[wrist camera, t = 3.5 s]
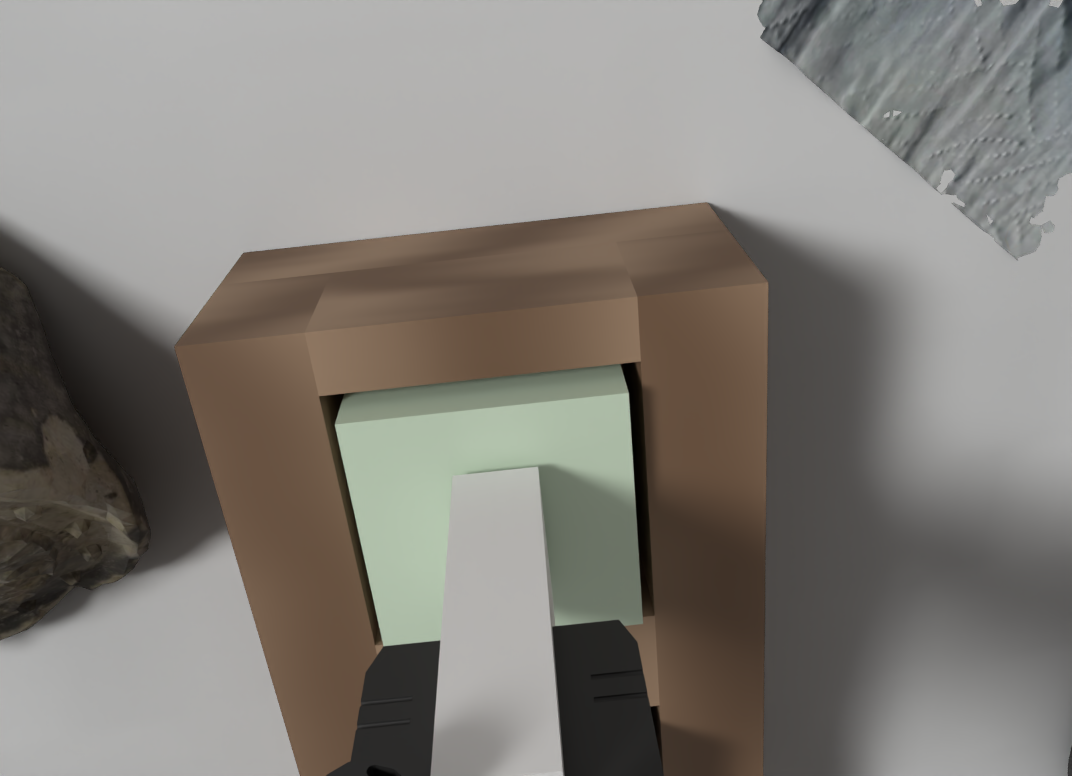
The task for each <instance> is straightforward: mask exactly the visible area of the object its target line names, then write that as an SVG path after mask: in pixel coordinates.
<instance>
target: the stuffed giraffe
mask: <svg viewBox="0 0 1072 776" xmlns="http://www.w3.org/2000/svg"><path fill="white" fill-rule="evenodd" d="M981 2H982V6H979V7H977V6H976V4H975V1H974V0H763V2H762V4H761V5H760V7H759V11H758V14H757V15H758V17H759V20H760V22H761V23H762V25H763V27H766V28H765V30H764V31H763V33H762V35H761V37H760V38H761V39H762V40H764V41H765V42H766V43H767V44H769V45H770V46H771V47H773V48H774V49H775V50H777V51H778V52H779V53H781V54H782V55H784V56H785V57H786V58H788V59H789V60H790V61H791V62H792V63H793V64H794V65H795V66H797V67H798V68H799V69H800V70H801V71H802V73H803V74H804V75H805V76H806V77H808V78H809V79H810V80H811V81H812V82H813V83H814V84H816V85H817V86H818V87H819V88H820V89H821V90H822V91H823V92H825V93H826V94H827V95H828V96H830V97H831V98H832V99H833V100H834V101H835V102H836V103H837V104H838V105H839V106H840V107H841V108H843V109H844V110H845V111H846V112H847V113H848V114H849V115H850V116H852V117H853V118H854V119H855V120H856V121H857V122H858V123H859V124H861V125H862V126H863V127H865V128H866V129H867V130H868V131H869V132H870V133H871V134H872V135H873V136H874V137H875V138H877V139H878V140H879V141H880V142H882V143H883V144H884V145H885V146H887V147H888V148H889V149H890V150H892V151H893V152H894V153H895V154H896V155H897V156H898V157H899V158H901V159H902V160H903V161H904V162H906V163H907V164H908V165H909V166H911V167H912V168H913V169H914V170H915V171H916V172H918V173H919V174H920V175H921V176H922V177H923V178H924V179H925V180H926V181H927V182H928V183H929V184H930V185H931V186H932V187H933V188H934V189H935V190H937V189H936V188H937V187H938V186H939V185H940V181H941V176H942V174H943V172H944V170H950V169H951V170H952V171H953V172H954V173H955V176H954V179H953V180H952V181H951V182H950V183H949V184H948V186H947V188H946V189H945V190H944V191H943V192H942V193H940V192H939V191H938V190H937V191H938V192H939V193H940V194H941V195H942V194H949V195H957V198H958V199H959V200H961V201H962V202H964V203H965V207H962V206H960V205H957V204H955V203H952V204H953V205H954V206H955V207H956V208H958V209H959V210H960V211H961V212H962V213H963V214H965V215H966V216H967V217H968V218H969V219H970V220H971V221H972V222H974V223H975V224H976V225H977V226H978V227H979V228H980V229H982V230H983V231H985V232H986V233H988V234H989V235H991V236H992V237H993V238H994V240H995V242H997V243H998V244H999V245H1000V246H1001V247H1003V248H1004V249H1005V250H1006V251H1007V252H1009V253H1010V254H1011V255H1012V256H1013V257H1015V259H1016V260H1017V261H1018V258H1019V257H1022V256H1024V255H1027V254H1030V253H1032V252H1034V251H1036V250H1037V248H1038V247H1039V245H1040V241H1041V237H1042V236H1041V226H1042V228H1043V230H1044V233H1048V232H1053V231H1054V226H1055V225H1053V224H1052V223H1051V221H1048V222H1047V223H1045V224H1043V225H1032V224H1030V222H1029V221H1030V218H1031V217H1032V218H1034V217H1035V216H1037V215H1038V214H1039V213H1040V212H1041V211H1043V207H1044V202H1045V198H1046V196H1054V195H1055V193H1056V192H1057V190H1058V187H1057V183H1058V180H1059V178H1061V177H1063V176H1064V175H1066V174H1068V173H1072V0H1063V2H1062V3H1061V5H1060V7H1059V8H1057V7H1053V6H1049V3H1050V0H1019V1H1018V2H1017V3H1016V4H1013V5H1006V6H1003V5H1002V3H1001V2H1000V1H999V0H981ZM893 110H895V111H901V112H902V113H900V114H898V115H897V116H894V117H893ZM889 111H890V116H889V117H887V118H883V116H884V114H885V113H887V112H889ZM860 122H861V123H860ZM986 214H987V215H988V216H989V217H990V218H991V219H992V220H993V222H992V223H991V224H989V222H988V218H987V215H986Z"/></svg>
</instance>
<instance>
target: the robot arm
mask: <svg viewBox="0 0 1072 776" xmlns="http://www.w3.org/2000/svg"><path fill="white" fill-rule="evenodd" d="M326 776H664V773H663V768H662V763H661V758H660V753H659V748H658V743H657V738H656V733H655V728H654V723H653V718H652V713H651V708H650V703H649V698H648V694H647V688H646V683H645V677H644V674H643V667H642V662H641V657H640V652H639V647H638V642H637V641H636V640H635V638H634V637H633V636H632V635H631V634H630V632H629V631H628V630H627V629H626V628H625V626H624V625H623V624H622V623H621V622H620V620H610V621H600V622H590V623H581V624H571V625H562V626H555V617H554V605H553V594H552V584H551V576H550V567H549V558H548V549H547V541H546V532H545V523H544V514H543V505H542V497H541V488H540V479H539V470H538V467H530V468H521V469H511V470H502V471H492V472H483V473H473V474H464V475H454V476H453V477H452V491H451V504H450V518H449V531H448V545H447V559H446V572H445V586H444V599H443V613H442V627H441V640H439V641H429V642H420V643H410V644H400V645H391V646H383V648H382V649H381V651H380V652H379V654H378V655H377V657H376V658H375V659H374V661H373V662H372V664H371V665H370V667H369V668H368V670H367V671H366V673H365V679H364V685H363V690H362V696H361V706H360V708H359V714H358V720H357V730H356V732H355V738H354V744H353V749H352V755H351V761H350V762H347V763H346V764H344V765H342V766H341V767H339V768H337V769H335V770H334V771H332V772H330V773H329V774H327V775H326Z"/></svg>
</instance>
